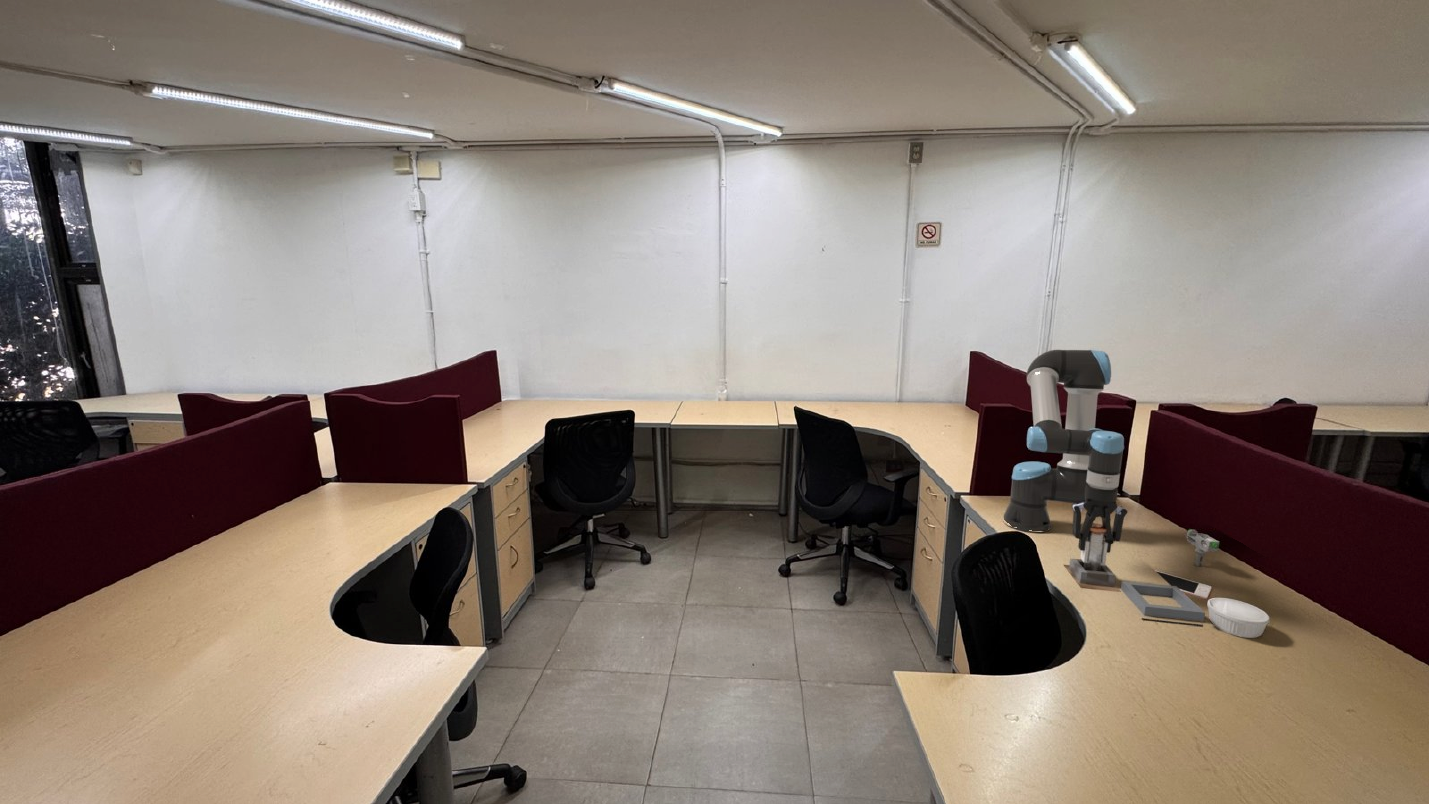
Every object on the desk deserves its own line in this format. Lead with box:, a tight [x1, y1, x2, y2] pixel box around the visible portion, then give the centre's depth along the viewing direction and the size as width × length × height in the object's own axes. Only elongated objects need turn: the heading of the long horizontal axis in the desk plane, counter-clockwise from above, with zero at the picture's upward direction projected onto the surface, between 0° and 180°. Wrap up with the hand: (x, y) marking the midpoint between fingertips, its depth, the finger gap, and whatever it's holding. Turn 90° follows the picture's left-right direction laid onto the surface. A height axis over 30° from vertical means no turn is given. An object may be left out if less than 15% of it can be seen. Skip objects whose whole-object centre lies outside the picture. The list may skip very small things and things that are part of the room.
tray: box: [1120, 581, 1206, 628], centre depth 145 cm, size 13×13×4 cm
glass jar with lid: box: [1083, 522, 1107, 571], centre depth 158 cm, size 5×5×16 cm
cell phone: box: [1154, 570, 1212, 600], centre depth 159 cm, size 9×18×1 cm, turn 41°
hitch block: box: [1063, 558, 1122, 593], centre depth 159 cm, size 14×10×5 cm
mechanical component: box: [1186, 528, 1220, 567], centre depth 167 cm, size 3×10×10 cm, turn 174°
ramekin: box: [1206, 597, 1270, 639], centre depth 137 cm, size 11×11×5 cm
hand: (1092, 561), depth 159 cm, fingers closed on glass jar with lid, 4 cm apart
